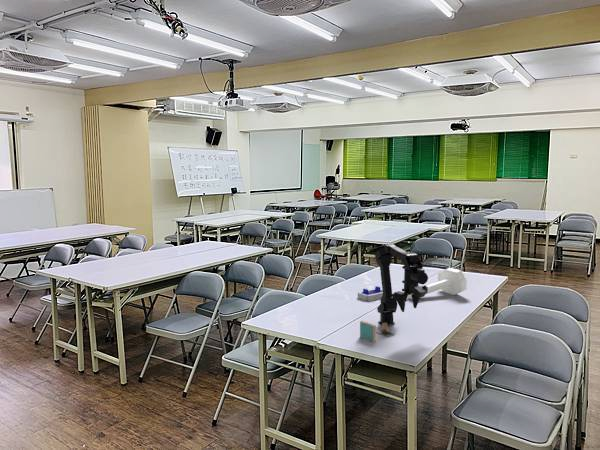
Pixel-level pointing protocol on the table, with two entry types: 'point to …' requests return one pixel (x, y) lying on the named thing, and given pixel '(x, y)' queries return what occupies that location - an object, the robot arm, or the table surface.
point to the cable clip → (377, 290)
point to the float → (384, 330)
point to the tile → (368, 331)
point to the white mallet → (448, 282)
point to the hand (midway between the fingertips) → (409, 309)
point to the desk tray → (370, 297)
